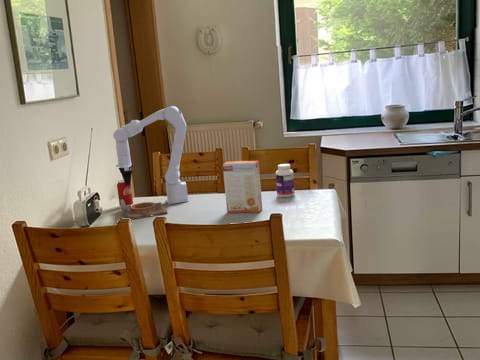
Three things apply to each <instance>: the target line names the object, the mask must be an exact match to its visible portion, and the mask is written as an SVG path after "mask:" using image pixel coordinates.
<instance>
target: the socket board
mask: <svg viewBox="0 0 480 360" xmlns="http://www.w3.org/2000/svg"><path fill="white" fill-rule="evenodd" d="M120 204H121V206H120V209H121V210H120V211H121V213H122V216H123V219H124V218H130V219H132V220H135V219H134V218H138V219H141V218H140V217H144V218H147V217H146V216H150V217H152V216H151V215H157V216H161V215H168V214H169V213H168V211H167V209H166V207H165V206H164V205H163V203H162V202H154V201H153V202H152V201H144V202H137V203H135V204H134V203H133V204H132V206H130V207H126V205H125V202H124V200H123V199H122V200H120Z"/></svg>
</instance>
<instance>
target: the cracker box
mask: <svg viewBox="0 0 480 360" xmlns="http://www.w3.org/2000/svg"><path fill="white" fill-rule="evenodd" d="M259 163H260V162H259V160H235V161H226V162H224V163H222V169H223V170H222V171H223V182H224V183H223V184H224V193H225V203H226V204H225V205H226V212H227V213H249V214H250V213H253V214H255V213H256V214H257V213H260V212H261V211H262V210H263V201H262V200H263V199H262V197H263V196H262V189H261V188H262V185H261V178H260V177H261V174H260V173H261V172H260V164H259Z"/></svg>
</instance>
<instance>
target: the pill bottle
mask: <svg viewBox="0 0 480 360" xmlns="http://www.w3.org/2000/svg"><path fill="white" fill-rule="evenodd" d="M294 179H295V177H294V171H293V169H291V164H290V163H280V164H278V165H277V170H276V171H275V185H276V187H275V188H276V196H277V197H279V198H282V197H287V198H291V197H290V196H292V197H294V196H295V180H294Z"/></svg>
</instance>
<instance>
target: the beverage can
mask: <svg viewBox="0 0 480 360" xmlns="http://www.w3.org/2000/svg"><path fill="white" fill-rule="evenodd" d="M116 188H117V196H118V204H119V206H120V207H121V204H120V200H122V199H123V200H124V202H125V205H126V207H129V206H131V205H134V199H133V198H134V197H133V191H132V183H131V184H130V185H127V186H126V185H125V182H124V180H123V179H121V180H120V179H119V180H118V181H117V183H116Z"/></svg>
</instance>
